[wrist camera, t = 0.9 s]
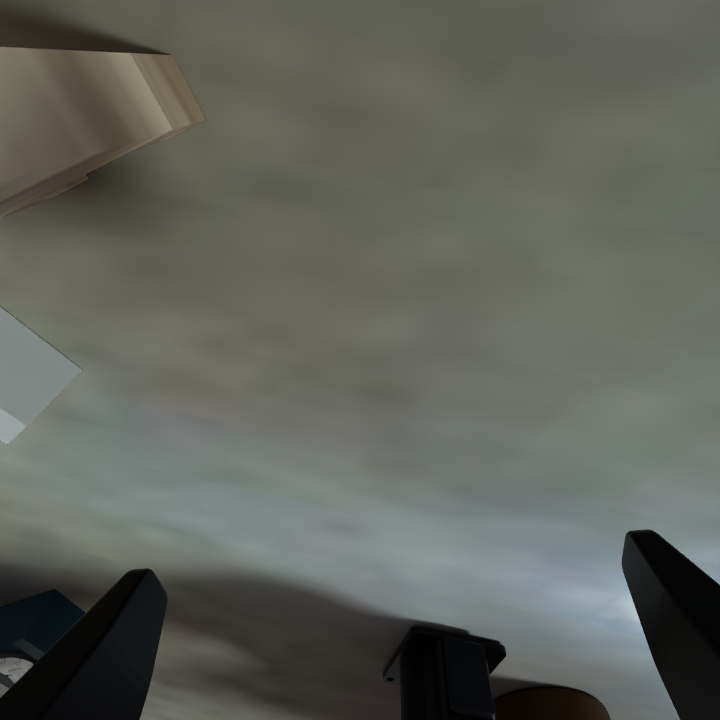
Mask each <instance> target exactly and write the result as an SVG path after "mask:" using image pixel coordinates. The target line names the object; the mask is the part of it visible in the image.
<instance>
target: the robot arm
mask: <svg viewBox="0 0 720 720" xmlns="http://www.w3.org/2000/svg"><path fill="white" fill-rule="evenodd" d="M622 568H623V573H624V576H625V579H626V582H627V584H628V587H629V590H630V593H631V596H632V599H633V602H634V605H635V608H636V611H637V614H638V616H639V619H640V622H641V625H642V628H643V631H644V634H645V637H646V640H647V643H648V646H649V648H650V651H651V654H652V657H653V659H654V662H655V665H656V667H657V669H658V672H659V674H660V676H661V679H662V681H663V683H664V685H665V687H666V689H667V692H668V694H669V696H670V698H671V700H672V702H673V705H674V707H675V709H676V711H677V713H678V715H679V718H680V720H720V585H719V584H718V583H717V582H716V581H714V580H713V579H712V578H711V577H710V576H708V575H707V574H706V573H705V572H703V571H702V570H701V569H700V568H699V567H697V566H696V565H695V564H694V563H693V562H691V561H690V560H689V559H688V558H686V557H685V556H684V555H683V554H682V553H680V552H679V551H678V550H677V549H676V548H674V547H673V546H672V545H671V544H670V543H668V542H667V541H666V540H665V539H663V538H662V537H661V536H660V535H659V534H657V533H656V532H654V531H652V530H635V531H629V532H628V533H627V534H626V536H625V542H624V549H623V555H622ZM166 607H167V594H166V591H165V589H164V588H163V586H162V585H161V583H160V581H159V580H158V578H157V576H156V575H155V573H154V572H153V571H152V570H151V569H148V568H146V569H134V570H131V571H129V572H127V573H126V574H125V575H124V576H123V577H122V578H121V579H120V580H119V581H118V582H117V583H116V584H115V585H114V586H113V587H112V588H111V589H110V590H109V591H108V592H107V593H106V594H105V595H104V596H103V597H102V598H101V599H100V600H99V601H98V602H97V603H96V604H95V605H94V606H92V607H91V608H90V609H89V610H88V611H87V612H86V613H85V614H84V615H83V616H82V617H81V618H80V619H79V620H78V621H77V622H76V623H75V624H74V625H73V626H72V627H71V628H70V629H69V630H68V631H67V632H66V633H65V634H64V635H63V636H62V637H61V638H60V639H59V640H58V641H57V642H56V643H55V644H54V645H53V646H52V647H51V648H50V649H49V650H48V651H47V652H46V653H45V654H44V655H43V656H42V657H41V658H40V659H39V660H38V661H37V662H36V663H35V664H34V665H33V666H32V667H31V668H30V669H29V670H28V671H27V672H26V673H25V674H24V675H23V676H22V677H21V678H20V679H19V680H18V681H17V682H16V683H15V684H14V685H13V686H12V687H11V688H10V689H9V690H8V691H7V692H6V693H5V694H4V695H3V696H2V697H1V698H0V720H139V719H140V716H141V713H142V709H143V706H144V703H145V700H146V696H147V693H148V689H149V686H150V681H151V677H152V673H153V668H154V664H155V659H156V654H157V650H158V645H159V640H160V635H161V631H162V626H163V621H164V616H165V612H166ZM505 657H506V651H505V647H504V646H503V645H500V644H495V643H491V642H486V641H482V640H477V639H473V638H468V637H463V636H459V635H454V634H450V633H445V632H441V631H436V630H431V629H427V628H422V627H414V628H412V629H411V630H410V631H409V633H408V635H407V636H406V638H405V639H404V641H403V642H402V644H401V645H400V647H399V648H398V650H397V652H396V653H395V655H394V656H393V658H392V659H391V661H390V662H389V664H388V665H387V667H386V669H385V670H384V672H383V680H384V681H385V682H387V683H392V684H397V685H400V691H401V720H496V710H495V704H494V699H493V693H492V687H491V681H490V674H491V673H492V671H493V670H494V669H495V668H496V667H497V666H498V665H499V663H500V662H501V661H502V660H503V659H504V658H505Z"/></svg>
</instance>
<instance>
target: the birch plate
mask: <svg viewBox="0 0 720 720" xmlns="http://www.w3.org/2000/svg"><path fill="white" fill-rule="evenodd" d="M204 120H206V119H205V117H204V115H203V113H202V111H201V109H200V107H199V105H198V103H197V101H196V100H195V98H194V96H193V94H192V92H191V90H190V88H189V86H188V84H187V82H186V81H185V79H184V77H183V75H182V73H181V71H180V69H179V67H178V65H177V63H176V61H175V60H174V58H173V56H172V55H158V54H138V53H117V52H96V51H75V50H55V49H34V48H13V47H0V218H2V217H4V216H7V215H9V214H12V213H14V212H17V211H19V210H22V209H24V208H27V207H29V206H32V205H34V204H37V203H39V202H42V201H44V200H47V199H50V198H52V197H55V196H57V195H59V194H61V193H63V192H65V191H67V190H69V189H71V188H73V187H75V186H77V185H79V184H81V183H83V182H84V181H86V180H88V179H89V178H88V177H87V175H86V174H87V173H89V172H91V171H93V170H95V169H97V168H99V167H101V166H103V165H105V164H107V163H109V162H111V161H113V160H115V159H117V158H118V157H120V156H122V155H124V154H126V153H128V152H130V151H133V150H136V149H139V148H142V147H145V146H148V145H151V144H154V143H157V142H160V141H163V140H165V139H168V138H171V137H173V136H175V135H177V134H178V133H180V132H182V131H184V130H186V129H188V128H190V127H192V126H194V125H196V124H198V123H200V122H202V121H204Z"/></svg>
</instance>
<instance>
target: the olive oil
mask: <svg viewBox="0 0 720 720" xmlns="http://www.w3.org/2000/svg"><path fill="white" fill-rule="evenodd" d="M494 704H495V710H496V720H611V719H610V716H609V714H608V712H607V710H606V708H605V706H604V705H603V704H602V703H601V702H600V701H598V700H597V699H595V698H594V697H592V696H590V695H588V694H585V693H582V692H579V691H575V690H570V689H563V688H535V689H528V690H522V691H518V692H514V693H511V694H508V695H505V696H503V697H501V698H499V699H497V700H495V701H494Z"/></svg>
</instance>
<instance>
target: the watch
mask: <svg viewBox="0 0 720 720" xmlns="http://www.w3.org/2000/svg"><path fill="white" fill-rule="evenodd" d="M84 614H85V612H84V611H82V610H81V609H80V608H78V607H77V606H76V605H75V604H73V603H72V602H71V601H69V600H68V599H67V598H65V597H64V596H63V595H62V594H60V593H59V592H58V591H56V590H55V589H54V590H51V591H48V592H45V593H42V594H39V595H36V596H33V597H30V598H27V599H24V600H21V601H18V602H15V603H12V604H9V605H6V606H3V607H0V683H1V684H3V685H4V686H6V687H8V688H9V689H10V688H11V687H12V686H13V685H14V684H15V683H16V682H17V681H18V680H19V679H20V678H21V677H22V676H23V675H24V674H25V673H26V672H27V671H28V670H29V669H30V668H31V667H32V666H33V665H34V664H35V663H36V662H37V661H38V660H39V659H40V658H41V657H42V656H43V655H44V654H45V653H46V652H47V651H48V650H49V649H50V648H51V647H52V646H53V645H54V644H55V643H56V642H57V641H58V640H59V639H60V638H61V637H62V636H63V635H64V634H65V633H66V632H67V631H68V630H69V629H70V628H71V627H72V626H73V625H74V624H75V623H76V622H77V621H78V620H79V619H80V618H81V617H82V616H83V615H84Z"/></svg>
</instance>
